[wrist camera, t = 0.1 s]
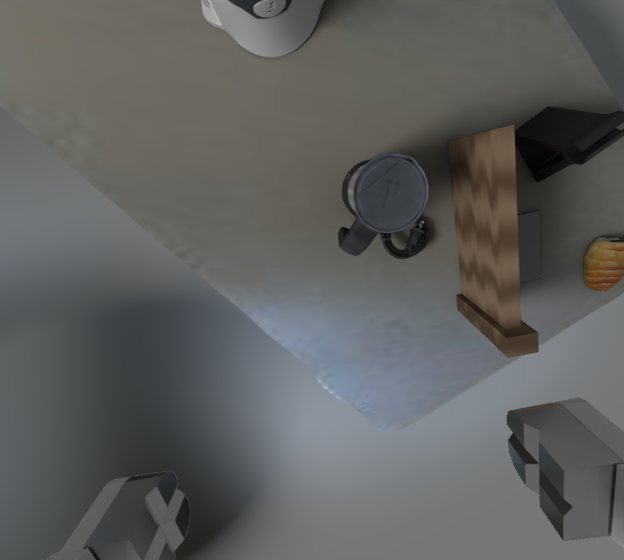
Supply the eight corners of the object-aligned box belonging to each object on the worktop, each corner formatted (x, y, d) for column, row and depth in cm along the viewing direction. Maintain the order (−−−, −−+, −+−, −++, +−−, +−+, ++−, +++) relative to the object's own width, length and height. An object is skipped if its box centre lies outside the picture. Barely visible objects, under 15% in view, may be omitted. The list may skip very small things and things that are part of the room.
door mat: (471, 225, 53) (472, 226, 53) (538, 210, 52) (540, 210, 52) (476, 291, 57) (477, 291, 57) (539, 277, 56) (541, 278, 56)
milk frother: (349, 153, 50) (363, 144, 36) (445, 175, 51) (494, 175, 37) (329, 240, 55) (334, 263, 40) (417, 259, 55) (452, 288, 41)
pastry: (611, 287, 57) (631, 295, 53) (572, 288, 57) (590, 296, 53) (626, 235, 54) (648, 240, 50) (585, 236, 54) (604, 240, 50)
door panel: (441, 142, 49) (496, 128, 34) (473, 134, 49) (544, 116, 34) (457, 310, 58) (507, 357, 43) (485, 304, 58) (546, 350, 43)
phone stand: (571, 157, 50) (647, 152, 38) (536, 182, 51) (599, 184, 40) (546, 107, 48) (618, 85, 36) (509, 134, 49) (568, 122, 38)
